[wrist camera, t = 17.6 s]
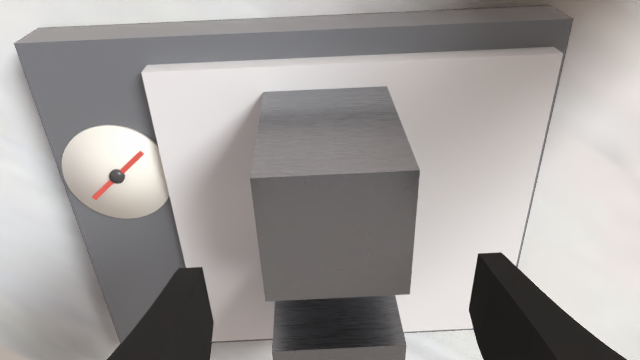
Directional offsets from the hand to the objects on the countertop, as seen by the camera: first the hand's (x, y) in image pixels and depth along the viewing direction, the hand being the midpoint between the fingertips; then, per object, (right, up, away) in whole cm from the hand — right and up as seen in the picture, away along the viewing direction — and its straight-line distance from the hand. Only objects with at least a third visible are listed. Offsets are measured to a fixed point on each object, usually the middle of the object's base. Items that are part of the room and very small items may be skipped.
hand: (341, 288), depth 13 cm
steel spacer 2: (0, -2, +10) cm, 10 cm away
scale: (-1, +2, +11) cm, 11 cm away
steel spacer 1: (0, +4, +6) cm, 8 cm away
